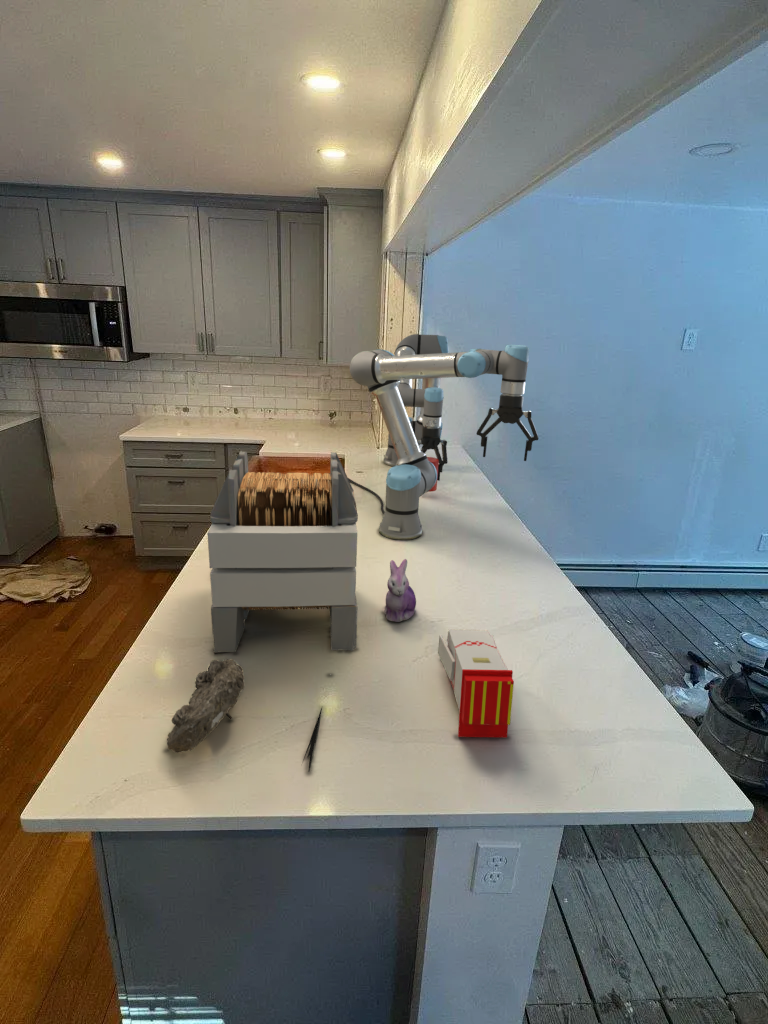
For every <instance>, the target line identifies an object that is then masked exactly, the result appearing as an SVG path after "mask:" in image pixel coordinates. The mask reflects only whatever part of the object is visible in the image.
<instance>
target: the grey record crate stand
mask: <svg viewBox="0 0 768 1024" xmlns="http://www.w3.org/2000/svg"><path fill="white" fill-rule="evenodd" d="M329 465H330V466H329V467H330V469H329V470H330V472H324V473H321V472H313V474H309V473H308V472H286V473H285V472H284V473H283V472H274V471H273V472H269V471H266V472H264V471H263V472H260V471H259V472H258V471H257V472H255V471H249V459H248V451H242V450H240V451H239V453H238V455H237V457H236V458H235V460H234V463H233V465H232V467H231V468H230V469H229V471H228V473H227V475H226V477H225V480H224V482H223V484H222V487H221V489H220V491H219V493H218V496H217V498H216V500H215V502H214V504H213V507H212V508H211V511H210V514H209V519H210V523H211V525H210V527H209V529H208V531H207V532H206V534H207V548H208V562H209V563H208V565H209V569H211V570H210V573H209V575H210V576H209V577H210V590H211V591H210V592H211V593H210V594H211V606H210V617H211V633H212V637H213V638H212V639H213V649H212V652H213V653H214V654H215V653H216V654H220V653H236V652H237V649H238V647H239V645H240V642H241V639H242V637H243V635H244V632H245V625H246V624H245V621H247V619H248V615H249V611H268V610H270V611H273V610H274V611H275V610H277V611H278V610H279V611H280V610H284V611H286V610H290V611H291V610H294V611H295V610H325V609H326V610H329V619H330V621H329V622H330V623H329V625H330V626H329V627H330V628H329V629H330V650H331V651H351V652H353V651H354V650H355V649H357V638H358V635H357V631H358V602H357V601H358V600H357V593H356V590H357V589H356V588H357V569H356V568H357V555H358V553H357V551H358V529H357V522H358V519H359V513H358V507H357V502H356V497H355V493H354V488H353V486H352V484H351V482H350V481H349V480H348V478H349V477H348V475H347V473H346V471H345V469H344V466H343V464H342V461H341V460H340V458H339V456H338V453H337V452H333V451H330V463H329Z"/></svg>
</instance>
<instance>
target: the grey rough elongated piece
mask: <svg viewBox="0 0 768 1024" xmlns="http://www.w3.org/2000/svg"><path fill="white" fill-rule="evenodd" d="M243 670H244V669H243V667H242V665H240V664H237V662H236V661H235V660H234V659H232V658H231V659H227V658H226V659H224V660H223V661H222V660H217V659H212V660H211V661H210V663H209V665H208V666H207V671H201V672H199V673H198V674H197V675H196V676H195V680H194V684H195V685H194V687H195V689H194V690H193V693H192V694H191V697H190V698H189V700H188V704H184V705H182V706H181V707H180V709H177V710H176V711H175V713H174V715H173V716H172V718H171V723H172V724H173V727H172V730H171V731H170V732H168V734H167V738H166V741H167V742H166V745H167V749H168V750H169V751H173V752H174V753H176V754H178V753H182V752H188V751H189V752H192V751H193V750H195V748H196V747H197V746H199V744H200V743H201V742H203V741H204V740H205V739H206V738H207V737H208V736H209V735H210V734H211V733H212V732H214V730H215V729H217V727H218V726H219V724H220V722H221V721H222V720H223V719H224V718H225V716H226V717H227V719H229V720H233V717H232V715H230V714H229V710H230V709H231V708H234V706H235V704H236V703H237V702H238V699H239V697H240V695H241V693H242V691H243V690H245V689H244V688H245V675H244V671H243Z"/></svg>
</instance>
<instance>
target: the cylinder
mask: <svg viewBox="0 0 768 1024" xmlns="http://www.w3.org/2000/svg"><path fill="white" fill-rule="evenodd" d="M427 459H428V461H430V462H431V463H432V464H433V465H434V466H435V468H436V470H437V479H438V467H439V459H437V457H432V456H427ZM437 490H438V480H436V483H435V485H434V486H433V487H432V489H431V490H429V491H428V492H427V493H431V492H436V491H437Z"/></svg>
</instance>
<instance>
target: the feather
mask: <svg viewBox="0 0 768 1024" xmlns="http://www.w3.org/2000/svg"><path fill="white" fill-rule="evenodd" d="M329 675H330V676H331V675H332V674H331V673H330V674H329ZM322 710H323V707H321V708H320V710H319V713H318V716H317V719H316V723H315V725H314V728H313V731H312V733H311V737H310V739H309V742H308V745H307V748H306V751H305V754H304V757H303V760H302V763H301V767H302V765H303V763H304V761H305V758H308V759H309V760H308V762H307V763H308V764H307V766H308V771H310V770H311V766H312V765H311V764H312V760H313V757H315V756H314V755H315V751H316V749H315V746H317V739H318V733H319V729H320V722H321V717H322V712H323V711H322ZM313 754H314V755H313ZM306 755H307V757H306Z"/></svg>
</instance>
